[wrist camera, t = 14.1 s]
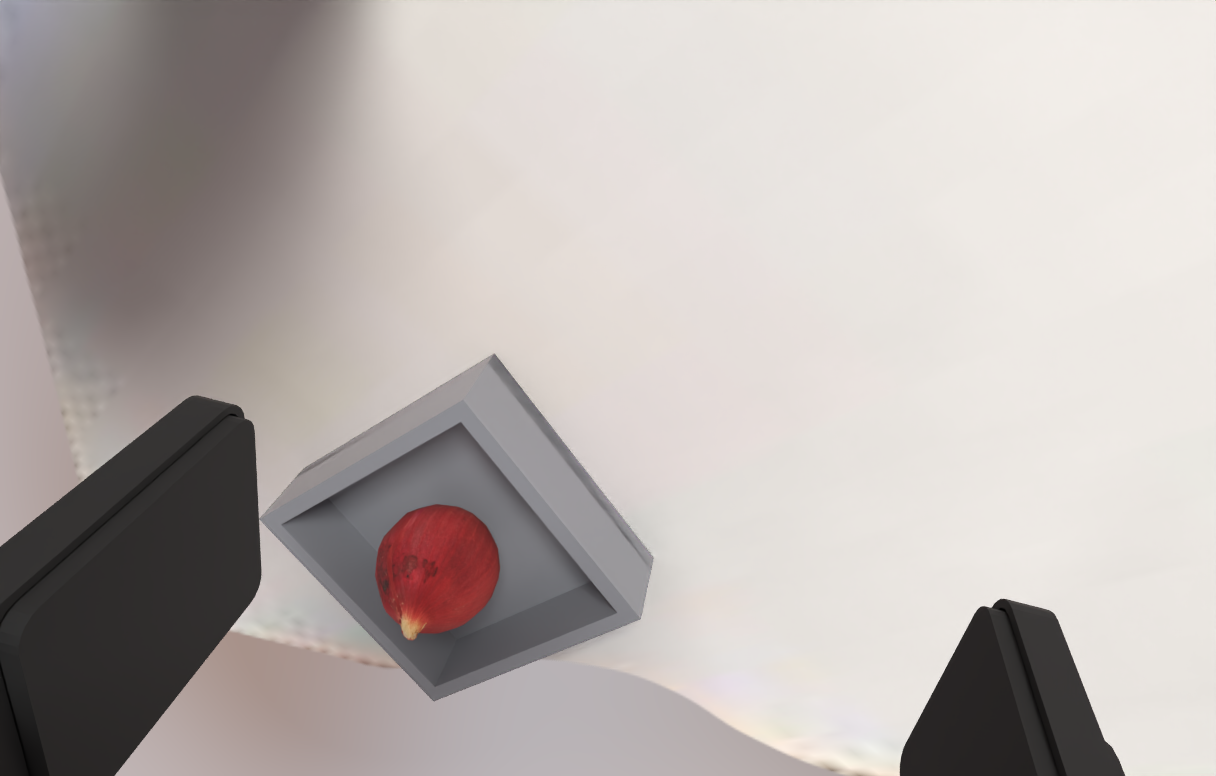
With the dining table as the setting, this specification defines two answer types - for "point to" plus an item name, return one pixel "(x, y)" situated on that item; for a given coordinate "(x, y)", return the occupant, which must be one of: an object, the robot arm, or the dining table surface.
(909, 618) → the dining table surface
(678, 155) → the dining table surface
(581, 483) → the tray
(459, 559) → the onion
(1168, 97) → the dining table surface
